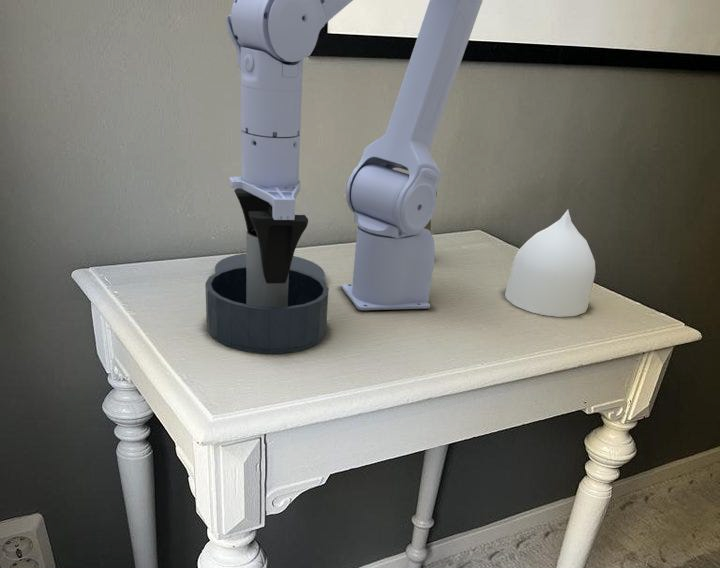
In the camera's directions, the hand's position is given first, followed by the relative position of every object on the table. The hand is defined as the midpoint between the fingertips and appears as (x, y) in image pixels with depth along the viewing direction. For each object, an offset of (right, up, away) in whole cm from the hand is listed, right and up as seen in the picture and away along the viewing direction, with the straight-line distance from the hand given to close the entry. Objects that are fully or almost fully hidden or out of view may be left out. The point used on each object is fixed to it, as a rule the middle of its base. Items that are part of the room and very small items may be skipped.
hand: (268, 269), depth 79 cm
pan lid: (-2, +4, +17) cm, 17 cm away
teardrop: (+35, +1, +20) cm, 40 cm away
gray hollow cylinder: (-1, -5, +4) cm, 7 cm away
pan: (-1, -6, +4) cm, 7 cm away
